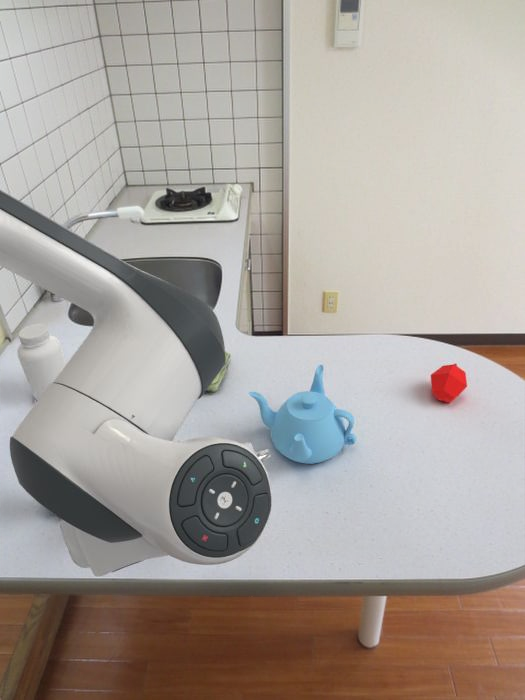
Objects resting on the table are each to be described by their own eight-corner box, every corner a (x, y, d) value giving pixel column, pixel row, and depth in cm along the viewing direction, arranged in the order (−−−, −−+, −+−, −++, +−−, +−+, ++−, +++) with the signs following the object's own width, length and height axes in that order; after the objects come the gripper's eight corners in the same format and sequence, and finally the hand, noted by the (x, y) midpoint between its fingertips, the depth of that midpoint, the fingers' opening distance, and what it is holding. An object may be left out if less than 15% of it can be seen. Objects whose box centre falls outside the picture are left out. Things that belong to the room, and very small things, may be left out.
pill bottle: (34, 385, 110) (12, 324, 101) (74, 377, 112) (55, 316, 103) (32, 408, 103) (8, 346, 95) (74, 399, 105) (55, 337, 97)
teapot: (366, 453, 90) (371, 408, 84) (291, 488, 85) (291, 442, 79) (319, 405, 101) (321, 362, 95) (250, 433, 95) (247, 389, 90)
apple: (458, 392, 95) (472, 358, 98) (421, 384, 99) (436, 352, 102) (463, 413, 99) (476, 380, 103) (428, 405, 103) (442, 373, 107)
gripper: (263, 420, 51) (225, 434, 64) (50, 514, 43) (55, 509, 56) (289, 481, 51) (246, 483, 63) (77, 588, 42) (76, 566, 55)
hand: (155, 496), depth 59 cm, fingers open, 8 cm apart
